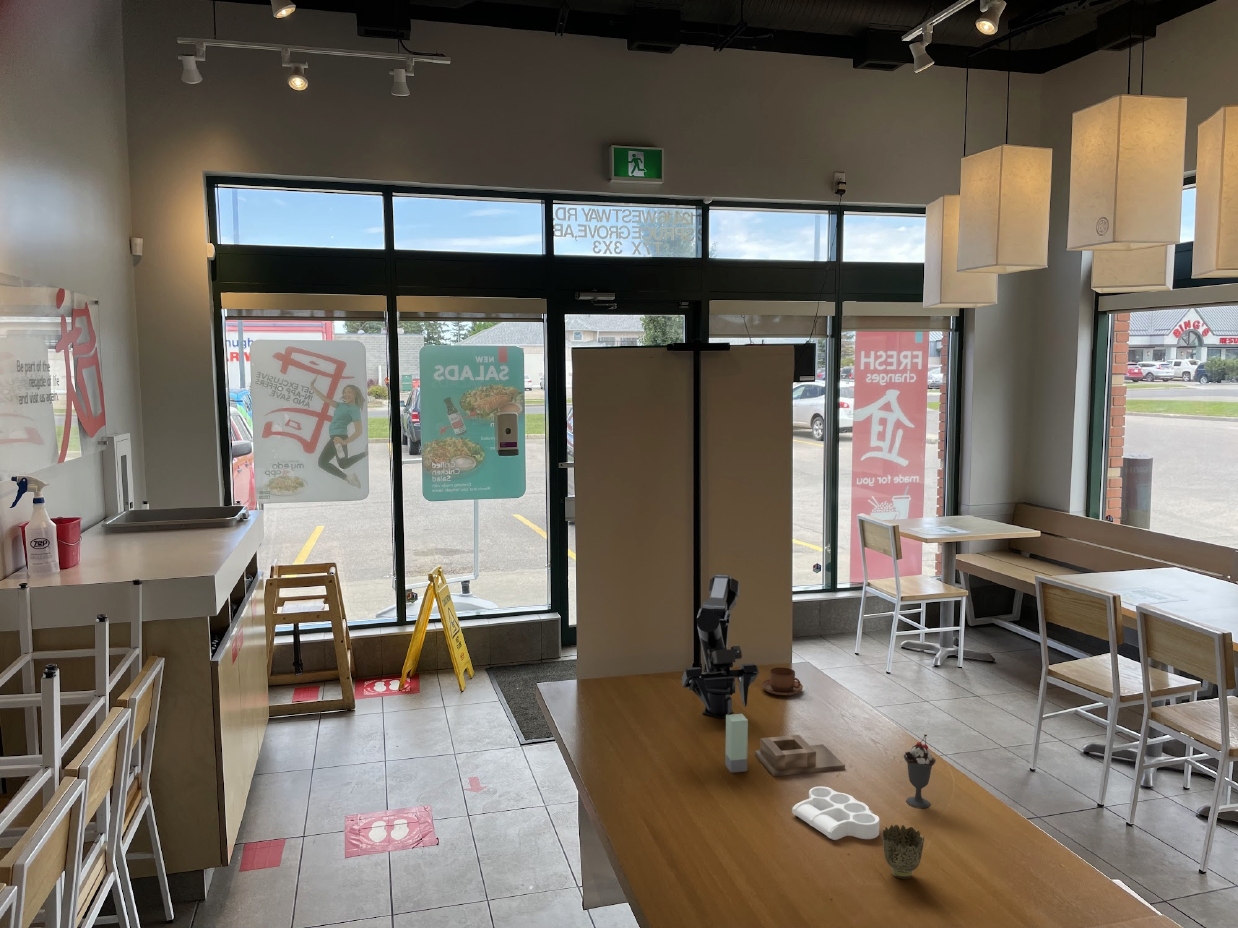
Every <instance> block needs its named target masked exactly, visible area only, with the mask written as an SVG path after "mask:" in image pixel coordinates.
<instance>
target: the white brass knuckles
mask: <svg viewBox="0 0 1238 928" xmlns="http://www.w3.org/2000/svg"><path fill="white" fill-rule="evenodd" d="M791 812H792V815H794V816H796V817H798V818H799V819H800V820H802V821H804V822H805V823H807V824H808V825H809V826H811V828H814V829H816V830H817V831H819V832H820V833H822V834H824V835H825V836H826V837H827V838H828V839H831V840H834V841H837V840H840V839H843V838H845V837H847V836H848V837H855V838H858V839H863V840H873V839H875V838H877V837H878V836H879V835H880V820H881V819H880V817H879V816H878V815H877V814H874V813H873V812H874V811H873V810H870V807H869V806H868V805H867V804H866V803H865V802H862V801H859V800H857V799H856V798H854V796H852V795H851V794H847V793H844V792H839V791H835V790H833V788H832V787H827V786H814V787H812V788H811V789H809V791H808V798H807V799H804V800H801V801H800V802H799V801H798V803H796V804H795V805H793V806H792V808H791Z"/></svg>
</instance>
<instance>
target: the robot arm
mask: <svg viewBox="0 0 1238 928" xmlns="http://www.w3.org/2000/svg"><path fill="white" fill-rule="evenodd" d="M708 585H709V586H708V593H709V598H708V599H707V600H704V601H703V602H702V605H701V607H699V608H698V609H699V610H698V613H697V616H696V626H697V631H698V636H699V640H700V645H701V648H702V652H703V663H704V668H703V670H702V668H701V667H698V666H697V667H686V668H685V670H684V672H683V674H682V676H681V684H682V687H683V688H684V689H687V688H688V690H689V691H692V692H694V694H695V695H696V696H697V697H698V698H699V699H700V701H701V702H702V703H703V705H704V710H703V711H702V714H703V715H706V716H710V717H714V718H718V719H724V718H726V715H731V714H732V713H733V712H734V710H733V705H732V704H733V698H732V697H731V696H733V694H736V693H737V692H736V685H737V686H738V691H739V694H740V698H741V702H742V705H743V707H744V708H746V707H747V705H748V696H749V687H750V685H751V684H752V683H754V682H755V680H756V679H757V678H758V676H759V674H760V671H759V667H758V666H757V664H755V663H742V664H741V665H740V666H739V669H731V668H733V667H734V663H736V662H737V660H741V659H742V658H743V653H742V649H741V646H740V645H733V646H731V647H730V649H728V643H729V633H730V622H731V619H732V614H731V612H732V611H733V610H734V608H735V606H736V605H737V601H738V598H739V597H740V594H741V593H740V592H741V591H740V589H741V588H740V582H739V581H738V580H737V579H734V578H733V577H732V576H731V575H729V574H719V573H718V574H713V575H712V578H710V579H709V584H708ZM736 679H737V682H738V684H736Z"/></svg>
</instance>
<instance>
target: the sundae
mask: <svg viewBox="0 0 1238 928" xmlns="http://www.w3.org/2000/svg"><path fill="white" fill-rule="evenodd" d="M926 737H928V734H923V738H922V739H921V741H917V742H916V744H915V745H912V747H911V748H910V750H909V751H905V752H904V754H903V758H904V760H905V762H906V764H907V775H908V780H909V783H910V784H911V785H912V786H913V787H914V788H915V794H914V796H909V797H907V798H906V800H905V802H906V803H907V805H909V806H911V807H912V808H916V809H926V808H929V807H930V806H931V802H930V801H929V800H928V799H926V798H924V797H922V789H923V788H926V787H927V786H928V784H929V782H930V779H931V772H932V767H933V766H934V765H935V763H936V762H937V760H936V758H935V757H933V755H932V753H931V752H930V750H928V749H929V746H928V745H927V742H926V741H927V740H926V739H927V738H926ZM923 741H924V744H923V743H922V742H923Z"/></svg>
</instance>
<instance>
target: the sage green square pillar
mask: <svg viewBox="0 0 1238 928" xmlns="http://www.w3.org/2000/svg"><path fill="white" fill-rule="evenodd" d="M748 732H749V720H748V718H746V716H745V715H744V714H743V713H734V714H732V713H730V714H729V715H726V717H725V756H724V757H725V761H724V762H725V767H726V768H727V770H728V771H729V772H730V773H741V772H742V773H743V772H747V771H748V736H749V735H748Z"/></svg>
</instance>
